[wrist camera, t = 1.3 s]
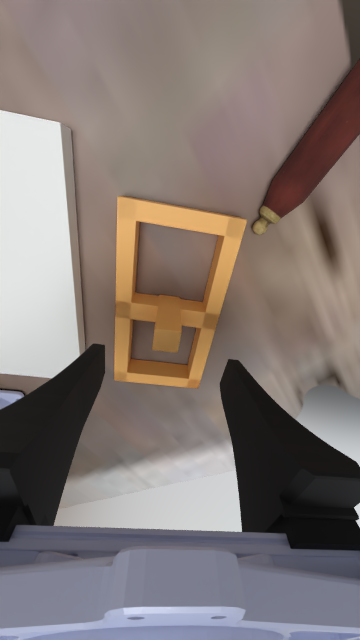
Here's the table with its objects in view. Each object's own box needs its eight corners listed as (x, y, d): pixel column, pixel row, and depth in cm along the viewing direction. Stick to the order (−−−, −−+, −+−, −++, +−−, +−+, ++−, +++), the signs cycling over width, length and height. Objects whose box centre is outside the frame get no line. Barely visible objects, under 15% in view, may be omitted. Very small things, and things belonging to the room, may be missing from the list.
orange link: (196, 374, 24) (201, 419, 19) (118, 366, 23) (104, 411, 18) (239, 216, 16) (266, 227, 11) (123, 195, 15) (101, 198, 11)
